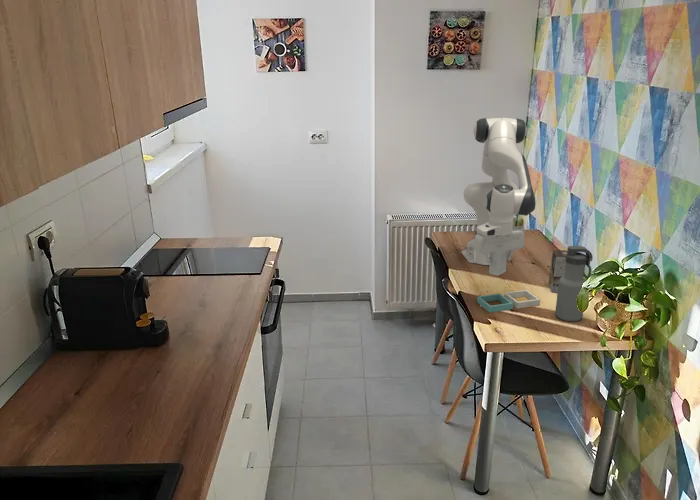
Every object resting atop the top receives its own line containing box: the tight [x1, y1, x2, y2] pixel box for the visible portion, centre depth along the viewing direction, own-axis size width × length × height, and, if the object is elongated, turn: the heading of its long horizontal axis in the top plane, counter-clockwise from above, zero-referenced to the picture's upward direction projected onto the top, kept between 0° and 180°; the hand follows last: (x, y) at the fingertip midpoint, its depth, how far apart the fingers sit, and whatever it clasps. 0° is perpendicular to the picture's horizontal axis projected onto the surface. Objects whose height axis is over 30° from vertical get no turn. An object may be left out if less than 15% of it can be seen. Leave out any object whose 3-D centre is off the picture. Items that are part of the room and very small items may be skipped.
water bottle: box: [554, 245, 593, 322], centre depth 202 cm, size 10×10×28 cm
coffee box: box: [548, 249, 568, 293], centre depth 228 cm, size 9×6×16 cm
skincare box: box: [488, 245, 508, 276], centre depth 210 cm, size 6×4×12 cm
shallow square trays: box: [476, 289, 541, 313], centre depth 218 cm, size 10×22×2 cm, turn 105°
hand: (498, 261), depth 210 cm, fingers closed on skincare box, 7 cm apart
